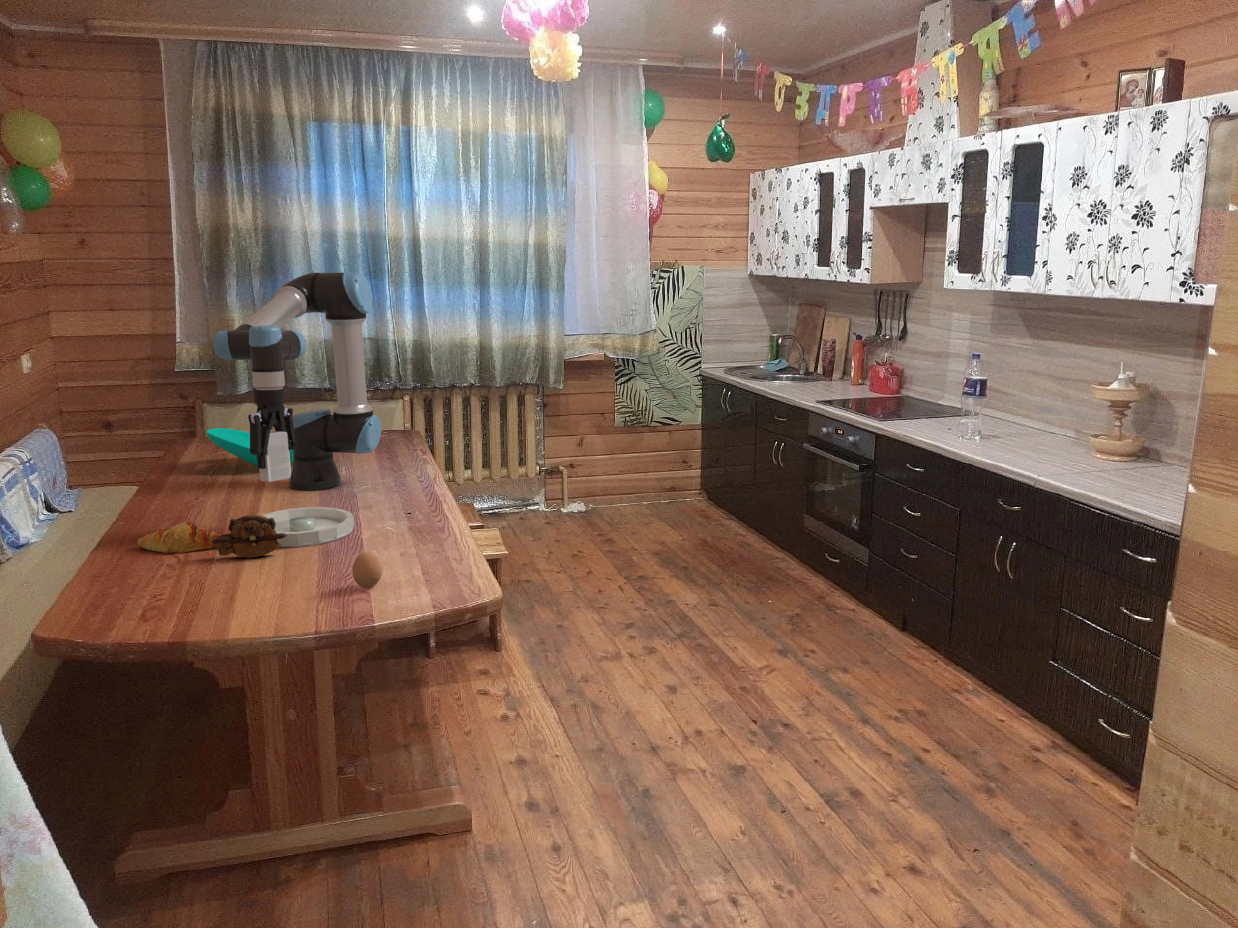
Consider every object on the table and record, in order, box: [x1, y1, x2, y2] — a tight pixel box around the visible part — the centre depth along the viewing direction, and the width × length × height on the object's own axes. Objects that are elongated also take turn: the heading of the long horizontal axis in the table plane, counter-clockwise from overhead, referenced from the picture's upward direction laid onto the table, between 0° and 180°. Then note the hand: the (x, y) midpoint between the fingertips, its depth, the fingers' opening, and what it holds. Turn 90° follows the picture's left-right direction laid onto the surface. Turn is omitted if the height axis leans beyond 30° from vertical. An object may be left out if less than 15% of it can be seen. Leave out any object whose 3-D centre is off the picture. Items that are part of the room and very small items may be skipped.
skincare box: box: [261, 430, 291, 483], centre depth 236 cm, size 6×4×12 cm
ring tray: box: [261, 506, 355, 549], centre depth 238 cm, size 25×25×4 cm
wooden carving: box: [212, 513, 287, 559], centre depth 218 cm, size 16×5×10 cm, turn 105°
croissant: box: [136, 521, 221, 554], centre depth 225 cm, size 21×10×8 cm, turn 94°
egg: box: [351, 551, 382, 589], centre depth 198 cm, size 6×6×8 cm
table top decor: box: [205, 427, 294, 468], centre depth 314 cm, size 40×28×13 cm
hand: (275, 477), depth 237 cm, fingers closed on skincare box, 7 cm apart
